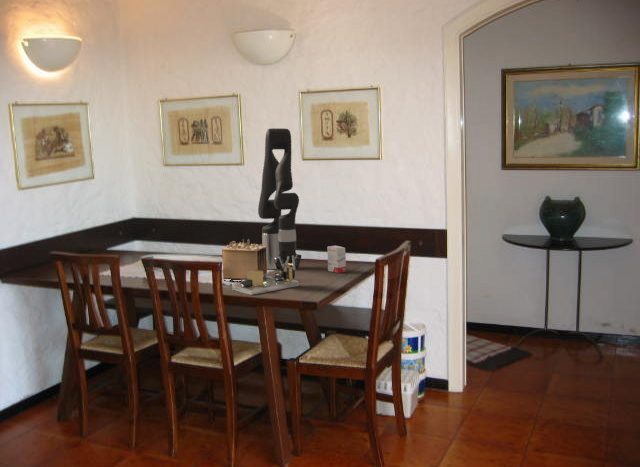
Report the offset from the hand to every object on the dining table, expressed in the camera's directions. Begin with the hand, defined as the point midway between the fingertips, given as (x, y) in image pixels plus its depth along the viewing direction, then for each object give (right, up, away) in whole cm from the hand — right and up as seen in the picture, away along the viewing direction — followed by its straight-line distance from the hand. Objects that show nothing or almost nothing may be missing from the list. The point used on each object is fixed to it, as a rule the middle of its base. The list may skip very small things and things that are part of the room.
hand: (288, 279), depth 315 cm
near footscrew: (-15, -2, -8) cm, 17 cm away
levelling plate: (-9, -4, -2) cm, 10 cm away
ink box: (+22, +1, +30) cm, 37 cm away
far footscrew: (-2, 0, +2) cm, 3 cm away
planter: (-20, -2, +15) cm, 25 cm away
